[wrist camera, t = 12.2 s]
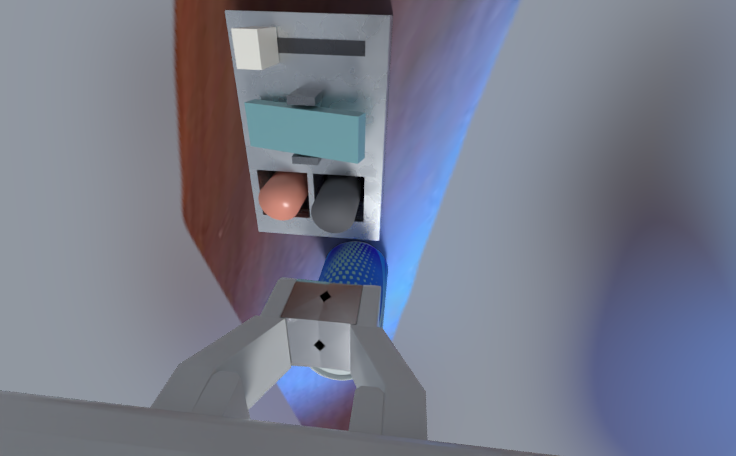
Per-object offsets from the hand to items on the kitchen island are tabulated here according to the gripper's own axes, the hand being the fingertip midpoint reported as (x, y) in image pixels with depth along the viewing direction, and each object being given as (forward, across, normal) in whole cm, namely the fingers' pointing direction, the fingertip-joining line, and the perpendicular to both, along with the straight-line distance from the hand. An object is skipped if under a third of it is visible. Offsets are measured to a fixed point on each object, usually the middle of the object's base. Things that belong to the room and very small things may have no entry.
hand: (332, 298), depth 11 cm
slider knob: (+26, +11, -5) cm, 28 cm away
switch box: (+31, +7, +4) cm, 32 cm away
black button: (+29, +4, +10) cm, 31 cm away
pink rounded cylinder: (+30, +10, +10) cm, 34 cm away
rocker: (+23, +7, +2) cm, 24 cm away
